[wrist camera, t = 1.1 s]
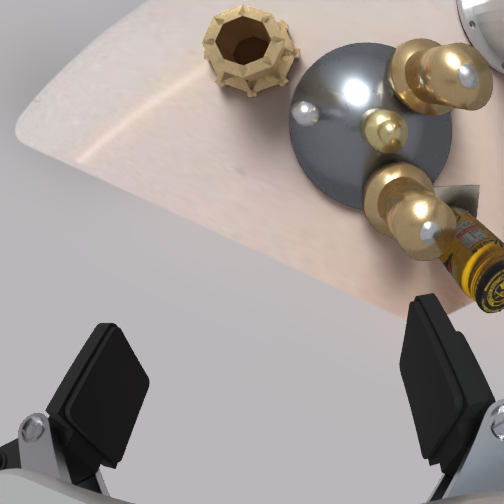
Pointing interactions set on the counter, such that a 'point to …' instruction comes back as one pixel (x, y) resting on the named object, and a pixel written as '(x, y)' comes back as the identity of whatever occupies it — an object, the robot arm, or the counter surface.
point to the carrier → (388, 132)
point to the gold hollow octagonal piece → (240, 28)
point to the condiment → (473, 250)
